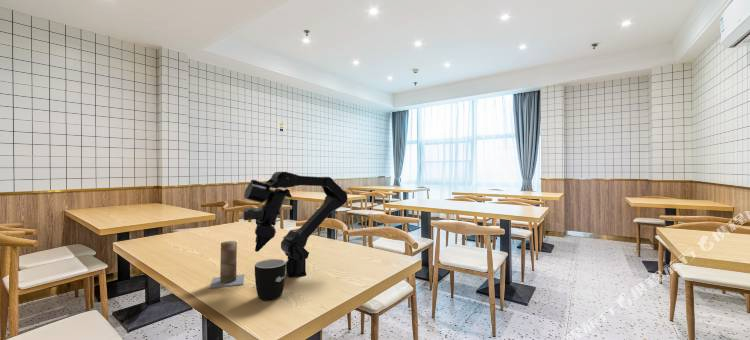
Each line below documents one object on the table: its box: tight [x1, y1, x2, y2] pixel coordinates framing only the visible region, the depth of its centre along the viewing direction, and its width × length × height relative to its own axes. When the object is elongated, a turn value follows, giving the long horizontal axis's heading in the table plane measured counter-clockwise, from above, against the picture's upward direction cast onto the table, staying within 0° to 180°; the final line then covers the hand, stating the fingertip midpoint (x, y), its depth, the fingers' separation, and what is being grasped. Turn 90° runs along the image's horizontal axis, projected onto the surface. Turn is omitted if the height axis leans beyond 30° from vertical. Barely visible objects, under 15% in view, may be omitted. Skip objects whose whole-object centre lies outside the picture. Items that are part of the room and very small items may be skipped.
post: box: [219, 240, 238, 283], centre depth 106 cm, size 5×5×13 cm
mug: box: [254, 258, 286, 302], centre depth 94 cm, size 12×9×10 cm
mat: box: [209, 274, 245, 289], centre depth 105 cm, size 10×10×1 cm
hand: (256, 246), depth 108 cm, fingers open, 9 cm apart
